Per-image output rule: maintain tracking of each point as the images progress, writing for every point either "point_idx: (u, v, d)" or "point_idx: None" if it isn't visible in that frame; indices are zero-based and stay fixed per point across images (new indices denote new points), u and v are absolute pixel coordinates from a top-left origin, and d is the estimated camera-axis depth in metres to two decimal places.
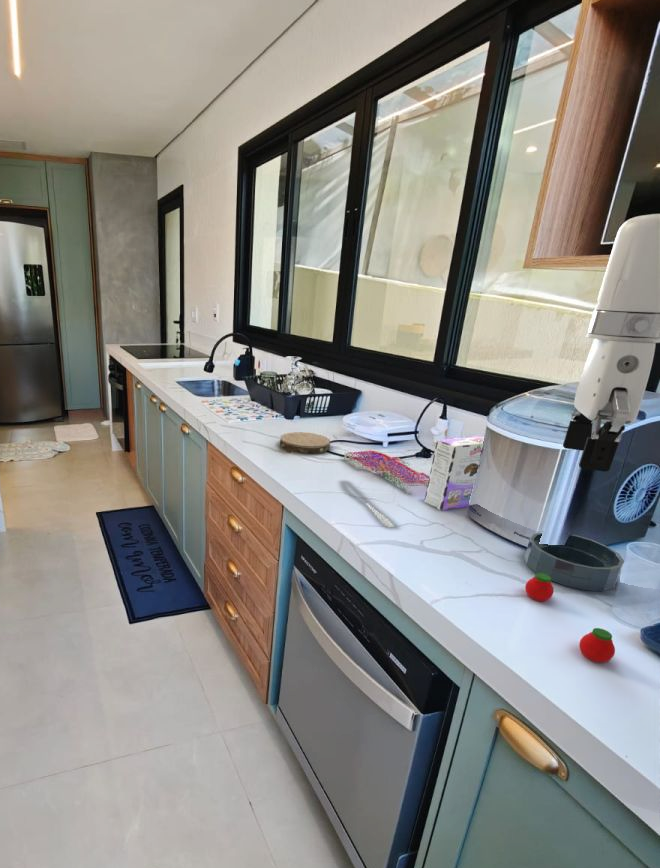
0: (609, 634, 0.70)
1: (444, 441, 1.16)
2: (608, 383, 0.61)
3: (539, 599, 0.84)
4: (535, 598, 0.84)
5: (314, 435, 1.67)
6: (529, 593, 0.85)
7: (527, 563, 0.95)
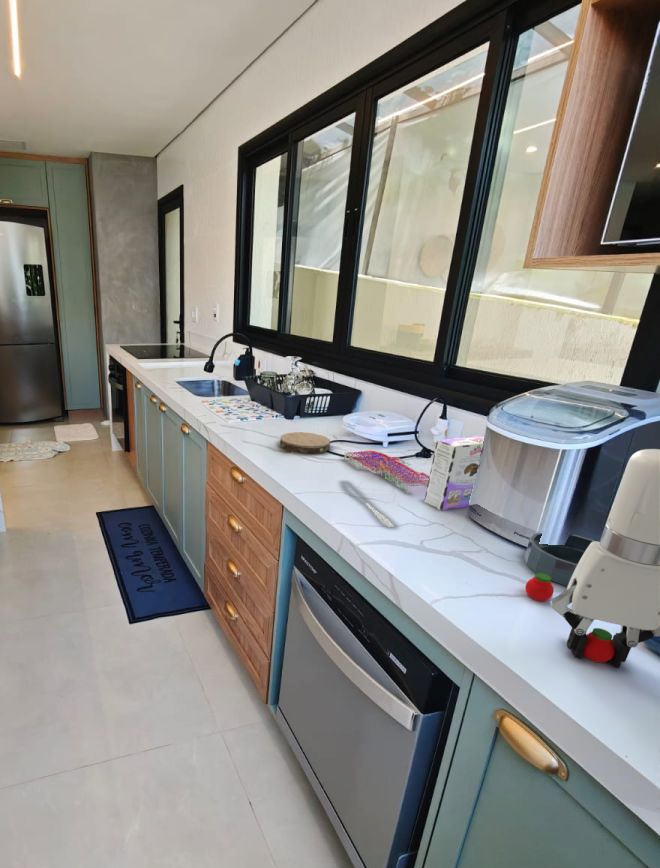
0: (609, 634, 0.70)
1: (444, 441, 1.16)
2: None
3: (539, 599, 0.84)
4: (535, 598, 0.84)
5: (314, 435, 1.67)
6: (529, 593, 0.85)
7: (527, 563, 0.95)
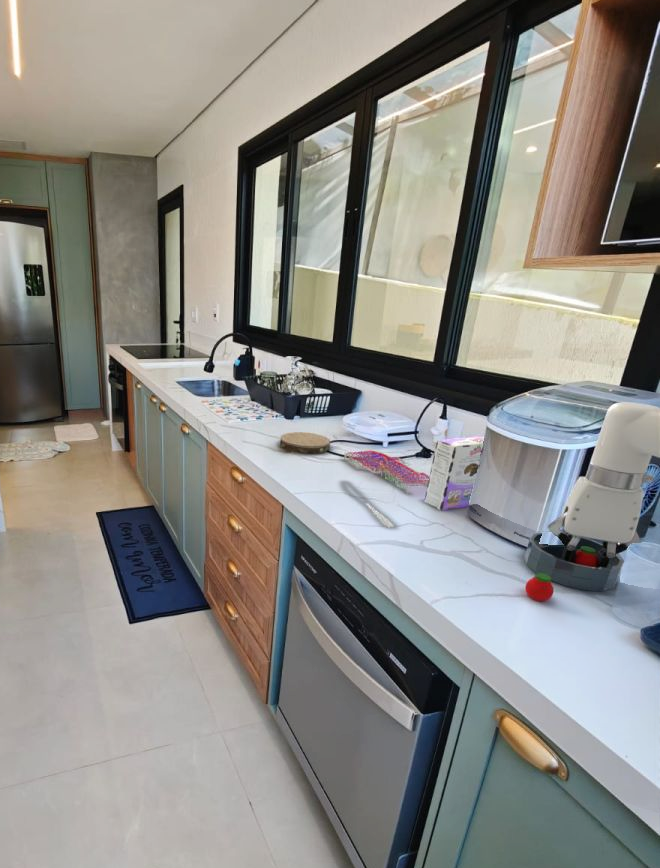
0: (593, 549, 0.90)
1: (445, 441, 1.16)
2: (638, 518, 0.85)
3: (539, 599, 0.84)
4: (535, 598, 0.84)
5: (314, 435, 1.67)
6: (529, 593, 0.85)
7: (527, 563, 0.95)
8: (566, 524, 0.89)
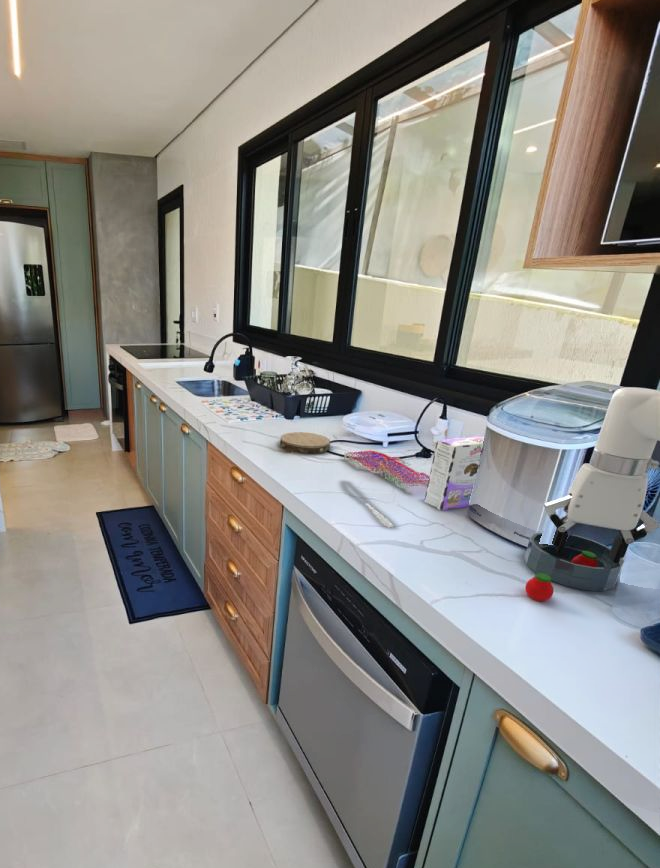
0: (594, 555, 0.90)
1: (445, 441, 1.16)
2: (642, 505, 0.84)
3: (539, 599, 0.84)
4: (535, 598, 0.84)
5: (314, 435, 1.67)
6: (529, 593, 0.85)
7: (527, 563, 0.95)
8: (569, 511, 0.88)
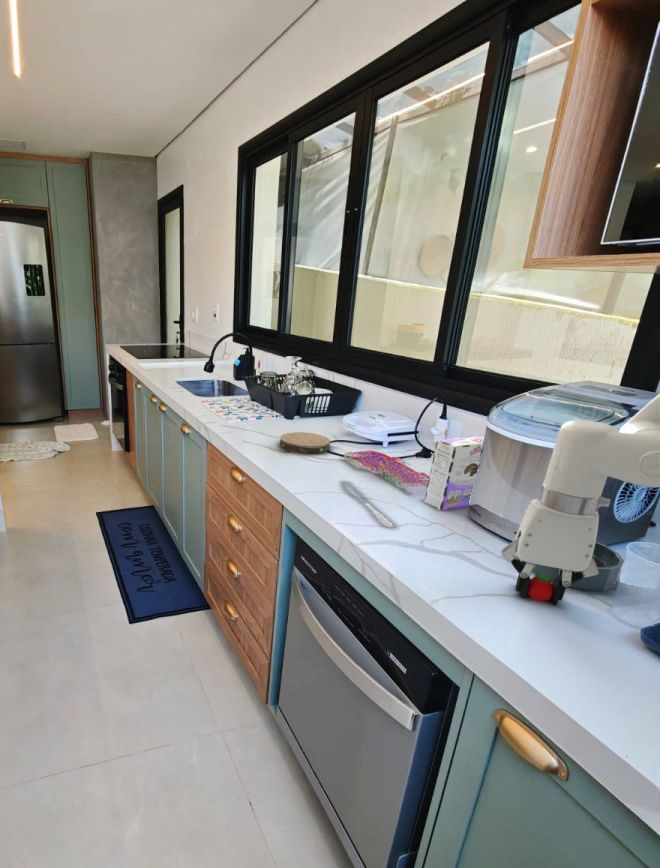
0: None
1: (444, 441, 1.16)
2: (594, 545, 0.78)
3: (539, 599, 0.84)
4: (535, 598, 0.84)
5: (314, 435, 1.67)
6: (529, 593, 0.85)
7: None
8: (519, 550, 0.83)
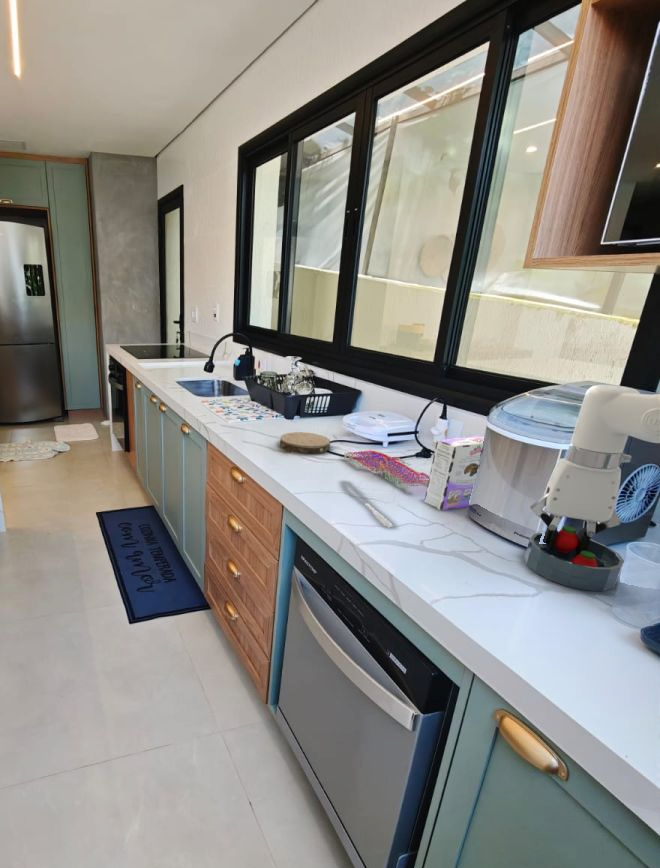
0: (593, 554, 0.90)
1: (444, 441, 1.16)
2: (616, 497, 0.88)
3: (566, 549, 0.93)
4: (562, 548, 0.93)
5: (314, 435, 1.67)
6: (556, 544, 0.94)
7: (527, 563, 0.95)
8: (547, 504, 0.92)
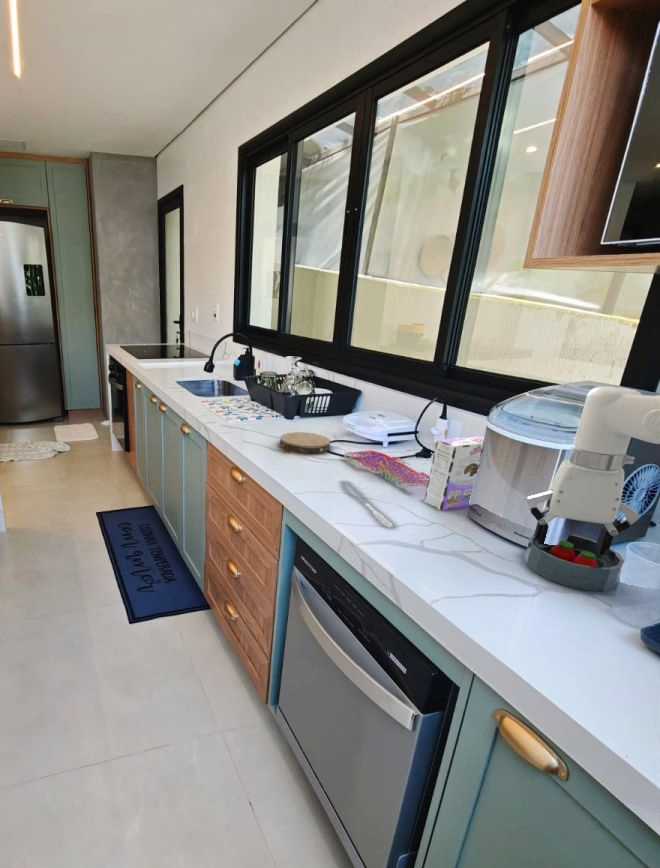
0: (593, 554, 0.90)
1: (445, 441, 1.16)
2: (620, 499, 0.87)
3: None
4: None
5: (314, 435, 1.67)
6: None
7: (527, 563, 0.95)
8: (551, 506, 0.92)
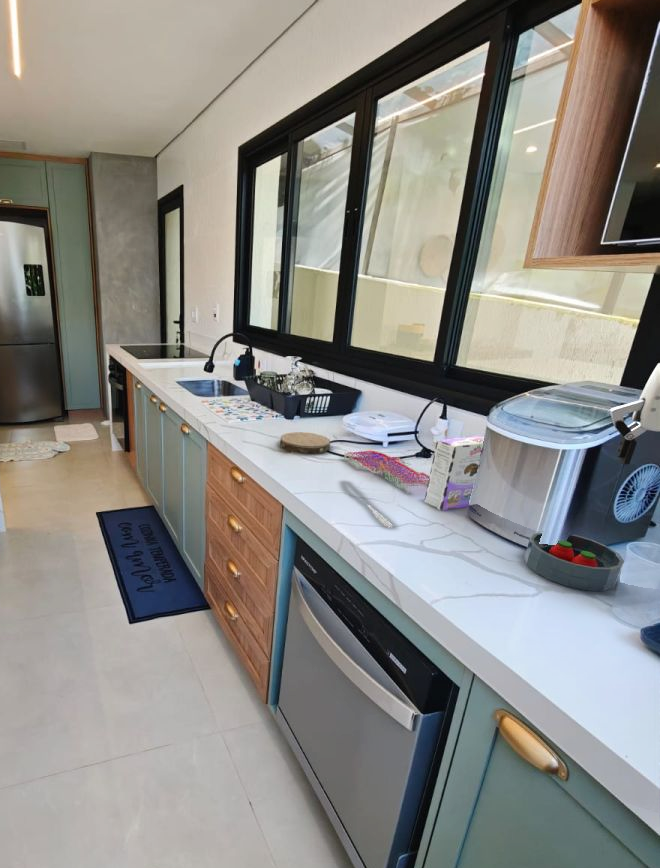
0: (593, 554, 0.90)
1: (444, 441, 1.16)
2: None
3: None
4: None
5: (314, 435, 1.67)
6: None
7: (527, 563, 0.95)
8: (643, 417, 0.78)
